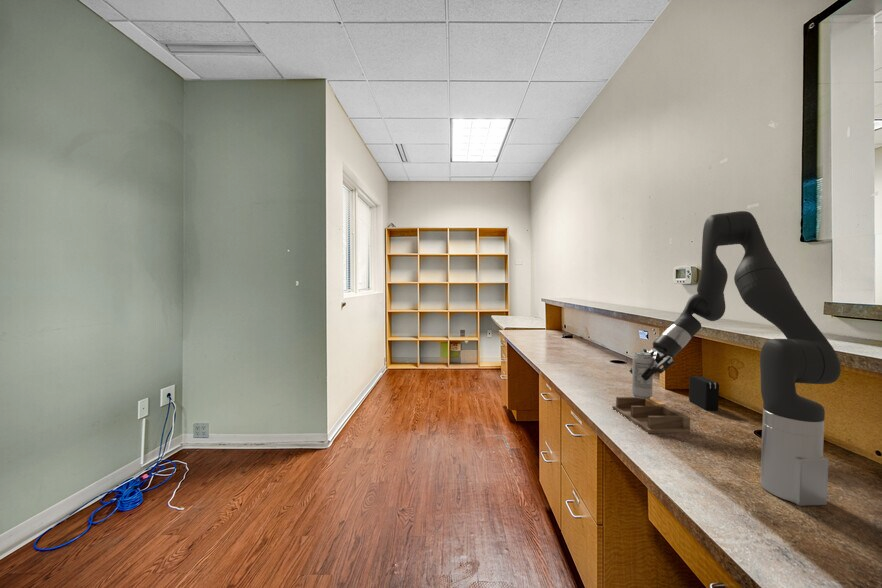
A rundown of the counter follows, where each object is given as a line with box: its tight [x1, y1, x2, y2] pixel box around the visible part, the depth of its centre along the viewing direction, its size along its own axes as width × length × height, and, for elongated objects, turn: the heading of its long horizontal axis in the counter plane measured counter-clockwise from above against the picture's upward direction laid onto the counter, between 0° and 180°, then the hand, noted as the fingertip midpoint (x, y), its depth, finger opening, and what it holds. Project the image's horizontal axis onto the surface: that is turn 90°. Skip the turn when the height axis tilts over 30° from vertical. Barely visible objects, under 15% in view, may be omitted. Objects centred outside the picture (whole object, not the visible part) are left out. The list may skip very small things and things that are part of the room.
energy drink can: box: [631, 351, 654, 399], centre depth 118 cm, size 6×6×15 cm
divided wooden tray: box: [611, 396, 691, 434], centre depth 114 cm, size 20×13×5 cm, turn 3°
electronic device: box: [688, 375, 720, 411], centre depth 128 cm, size 4×10×10 cm, turn 174°
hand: (637, 375), depth 118 cm, fingers closed on energy drink can, 6 cm apart
